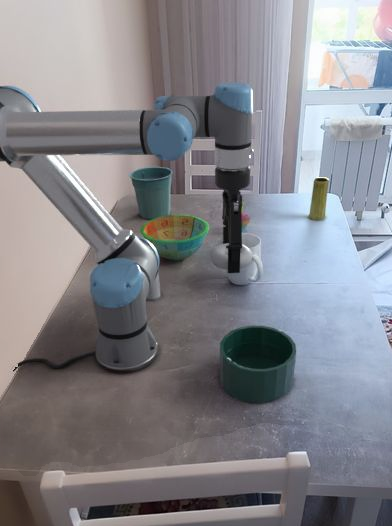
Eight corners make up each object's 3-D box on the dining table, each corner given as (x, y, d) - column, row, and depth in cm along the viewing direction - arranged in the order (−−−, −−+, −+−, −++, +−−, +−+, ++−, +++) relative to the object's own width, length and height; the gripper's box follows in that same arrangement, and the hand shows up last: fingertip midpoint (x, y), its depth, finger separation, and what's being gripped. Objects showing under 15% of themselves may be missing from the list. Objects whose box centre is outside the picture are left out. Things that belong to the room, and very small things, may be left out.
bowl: (171, 278, 150) (169, 249, 144) (130, 255, 163) (126, 227, 157) (223, 255, 161) (223, 227, 155) (180, 235, 175) (179, 209, 169)
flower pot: (125, 214, 193) (120, 173, 183) (157, 203, 201) (154, 163, 192) (151, 225, 183) (147, 183, 173) (183, 213, 191) (181, 172, 182)
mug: (275, 287, 144) (278, 246, 136) (245, 298, 139) (247, 257, 131) (244, 268, 154) (245, 229, 146) (216, 278, 149) (215, 238, 141)
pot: (248, 413, 102) (249, 381, 97) (206, 371, 114) (205, 341, 108) (307, 384, 109) (312, 353, 103) (262, 347, 120) (264, 317, 115)
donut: (203, 268, 114) (242, 275, 110) (202, 254, 112) (242, 262, 108) (221, 250, 121) (258, 257, 117) (220, 237, 119) (258, 244, 115)
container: (145, 301, 140) (139, 254, 130) (144, 293, 143) (138, 246, 134) (161, 299, 140) (157, 252, 131) (159, 291, 144) (155, 245, 135)
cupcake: (253, 229, 177) (254, 197, 170) (242, 238, 172) (243, 205, 164) (233, 225, 181) (233, 193, 174) (221, 233, 175) (221, 201, 168)
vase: (326, 220, 182) (331, 182, 173) (310, 220, 182) (314, 182, 173) (323, 213, 186) (328, 176, 178) (307, 214, 187) (311, 177, 178)
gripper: (258, 183, 93) (253, 284, 107) (243, 150, 111) (240, 240, 124) (220, 185, 93) (220, 286, 106) (210, 152, 111) (211, 242, 124)
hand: (231, 261), depth 115 cm, fingers closed on donut, 10 cm apart
